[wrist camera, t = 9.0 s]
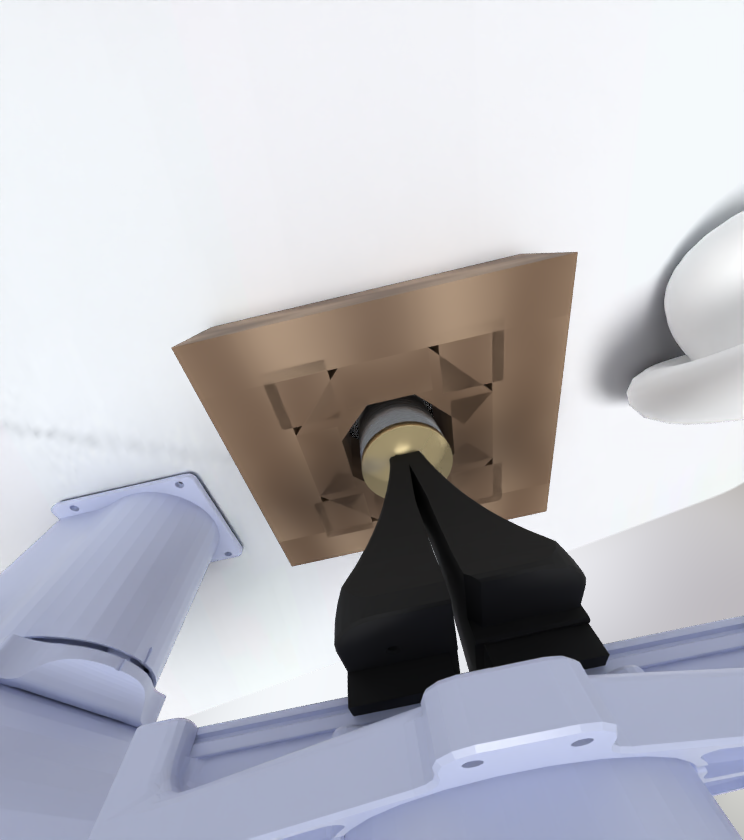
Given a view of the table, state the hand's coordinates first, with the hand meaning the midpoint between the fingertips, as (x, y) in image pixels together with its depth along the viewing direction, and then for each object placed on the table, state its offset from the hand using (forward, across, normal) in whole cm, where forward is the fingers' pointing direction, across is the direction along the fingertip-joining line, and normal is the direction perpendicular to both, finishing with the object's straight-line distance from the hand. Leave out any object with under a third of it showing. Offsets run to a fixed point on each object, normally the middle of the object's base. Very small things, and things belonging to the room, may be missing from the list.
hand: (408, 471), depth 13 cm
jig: (+6, 0, 0) cm, 6 cm away
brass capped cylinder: (+6, 0, 0) cm, 6 cm away
